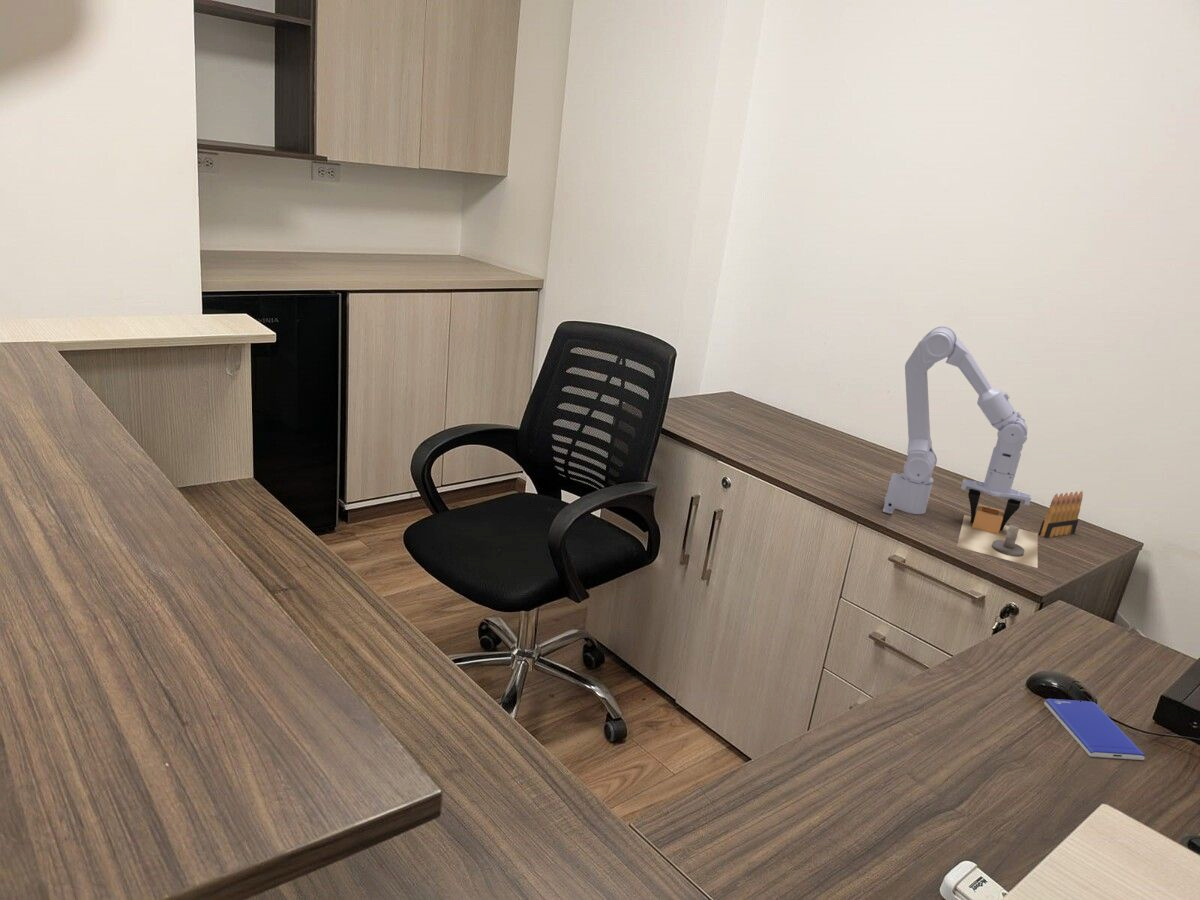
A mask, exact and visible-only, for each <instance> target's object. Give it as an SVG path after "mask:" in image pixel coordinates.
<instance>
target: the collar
mask: <svg viewBox="0 0 1200 900" xmlns="http://www.w3.org/2000/svg"><path fill="white" fill-rule="evenodd" d="M1004 512H1005V510H1004V509H999V508H995V507H990V506H987V505H984V504H979V503H978V505H977V508H976V514H975V519H974V522H973V526H972V528H976V529H980V530H984V531H987V532H991V533H995V534H999V530H1000V527H1001V523H1002V520H1003V515H1004Z"/></svg>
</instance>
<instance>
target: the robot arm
mask: <svg viewBox="0 0 1200 900" xmlns="http://www.w3.org/2000/svg"><path fill="white" fill-rule="evenodd" d="M946 358H947V359H946ZM944 359H946V360H945V363H946V364H948V365H951V366H954V367H956V368H958V369H959V370H960V372H961V373H962V375H963V376H964V378H966V380H967V381H968V382H969V384H970V385H971V387H972V388H973V389H974V391H975V392H976V394H977V395H978V398H977V399H978V400H977V403H976V404H977V406H978V407H979V408H980V410H981V411H982V413H983V414H984V416H985V418H986V419H987V420H988V423H989V424H990V425H991V426H992V427H993V428H994V429H996V430H997V435H996V436H997V440H996V444H995V446H994V447H993V450H992V453H991V456H990V460H989V463H988V467H987V470H986V474H985V479H984V481H978V480H970V479H965V478H964V479H963V480H962V483H961V487H960V490H964V491H966V490H967V491H968V493H967V494H968V502H969V506H970V516H971V521H970V523H973V522H974V519H975V514H976V510H977V506H978V504H979V501H980V498H981V494H984V495H989V496H992V497H997V498H1000V499H1004V500H1007V502H1006V506H1005V510H1004V514H1003V520H1002V523H1001V527H1000V530H1001V531H1002V530H1003V528H1004V526H1005V525H1006V524H1007V522H1008V521H1009V519H1010V518H1011V517H1012V516H1013V515H1014V514H1015V513H1016V512H1017V511H1018V509H1020V507H1021V504H1023V505H1025V506H1030V504H1031V500H1032V495H1031V494H1028V493H1025V492H1022V491H1018V490H1016V489H1012V487H1013V483H1014V480H1015V477H1016V473H1017V469H1018V466H1019V462H1020V459H1021V457H1022V453H1021V452H1022V450H1023V448H1024V446H1023V445H1024V444H1025V443H1026V441H1027V440H1028V437H1027V436H1028V425H1027V423H1026V420H1025V419H1024V418H1023V417H1022V414H1021V413H1020V411H1017V410H1016V409H1015V408H1014V406H1013V405H1012V403H1011V401H1009V399H1010V395H1009V393H1008V392H1004V391H1003V390H1002V389H1001V388H995V387H993V386H992V384H991V383H990V382H989V381H988V379H987V377H986V376H985V374H984V373H983V371H982V368H980V366H979V364H978V363H977V361H976V359H975V358H974V356H973V354H972V353H971V352H970V350H969V349H968V348H967V346H966V345H965V343H964V342H963V341H962V340H961V339H960V337H957V334H956V333H955V332H954V330H953V329H952V328H950V327H948V326H944V325H943V326H942V325H941V326H937V327H935V328H932V330H930V331H929V332H927V333H926V334H925V335H924V336H923V337H922V339H921V340H920V341H919V342H918V344H917V345H916V347H915V349H913V351H912V353H911V354H910V356H909V357H908V359H907V360H906V362H905V364H904V375H905V376H904V377H905V393H906V394H905V395H906V413H907V414H906V415H907V431H908V432H907V435H908V444H907V451H906V452H907V458H906V461H905V463H904V466H903V471H901V473H896V472H892V474H891V477H890V480H889V484H888V488H887V492H886V494H885V497H884V504H883V508H882V512H883V513H886V514H890V515H893V514H894V512H895V510H899V511H901V512H904V513H908V514H912V515H913V514H914V515H923V514H925V513H926V511H927V507H928V505H929V504H928V503H929V499H930V495H931V493H932V492H931V491H932V488H933V484H934V478H933V477H932V475H933V473H934V468H935V467H936V466H937V462H938V461H937V459H938V458H937V455H936V453H935V452H934V450H933V445H932V438H931V427H930V423H931V421H930V404H929V401H930V400H929V386H928V385H929V383H928V382H929V381H928V378H929V377H928V371H929V370H930V369H931V368H932V367H933V366H934V365H935V364H936V363H939V362H940V361H942V360H944Z"/></svg>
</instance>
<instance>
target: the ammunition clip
mask: <svg viewBox="0 0 1200 900" xmlns="http://www.w3.org/2000/svg"><path fill="white" fill-rule="evenodd" d="M1083 497H1084V493H1083V490H1081V491H1079V493H1078V491H1075V492H1074V493H1073V492H1070V493H1069V494H1068V492H1065V494H1063V493H1062V492H1061V493H1060V494H1059V495H1058V493H1055V495H1054V496H1053V498H1052V499H1051V501H1050V505H1049V506H1048V507H1049V508H1048V509H1047V512H1046V515H1045V518H1044V520H1042V523H1041V525H1040V529H1039V531H1038V536H1041V537H1043V538H1044V539H1048V538H1053V537H1059V536H1063V535H1067V536H1068V535H1069V534H1070V535H1074V534H1075V533H1076V530H1077V526H1078V522H1079V519H1078V517H1079V515H1080V511H1081V506H1082V501H1083Z"/></svg>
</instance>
